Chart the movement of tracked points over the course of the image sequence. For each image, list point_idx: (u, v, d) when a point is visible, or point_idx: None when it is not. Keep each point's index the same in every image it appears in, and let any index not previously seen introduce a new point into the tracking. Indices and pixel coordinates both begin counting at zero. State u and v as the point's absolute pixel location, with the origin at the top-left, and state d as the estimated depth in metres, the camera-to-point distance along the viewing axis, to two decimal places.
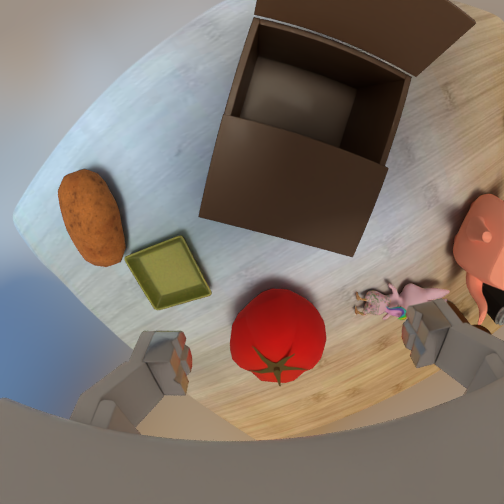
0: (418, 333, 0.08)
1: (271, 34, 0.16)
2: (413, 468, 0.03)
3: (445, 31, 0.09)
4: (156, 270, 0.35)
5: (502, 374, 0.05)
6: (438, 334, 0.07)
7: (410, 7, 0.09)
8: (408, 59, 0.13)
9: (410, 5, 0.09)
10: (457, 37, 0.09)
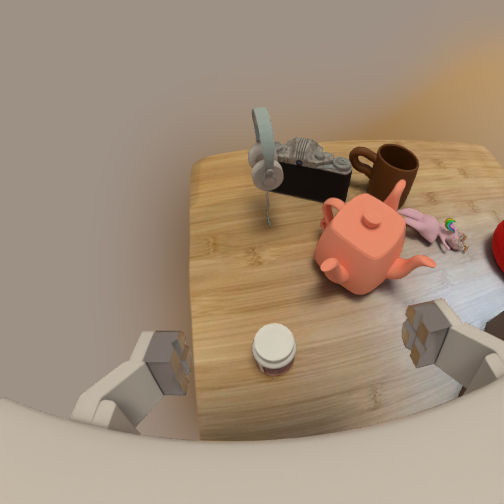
0: (418, 333, 0.08)
1: None
2: (413, 468, 0.03)
3: None
4: None
5: (502, 374, 0.05)
6: (438, 334, 0.07)
7: None
8: None
9: None
10: None
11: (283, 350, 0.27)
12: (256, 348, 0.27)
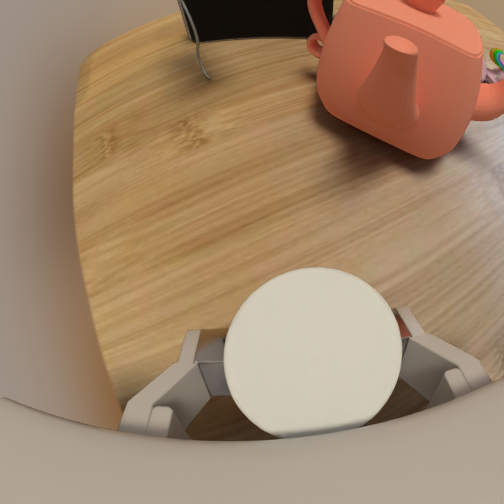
0: None
1: None
2: (413, 468, 0.03)
3: None
4: None
5: (462, 392, 0.05)
6: None
7: None
8: None
9: None
10: None
11: (368, 384, 0.05)
12: (245, 408, 0.05)
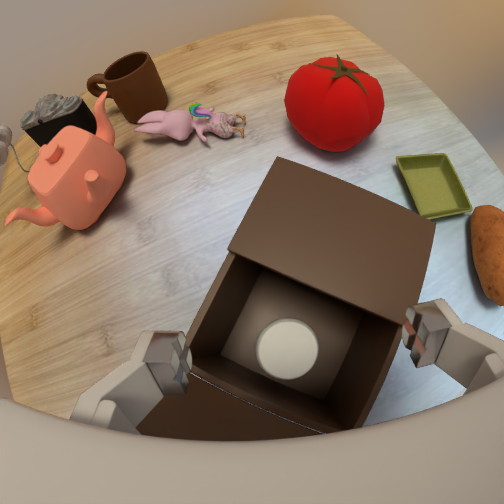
0: (418, 333, 0.08)
1: (331, 421, 0.15)
2: (413, 468, 0.03)
3: None
4: (443, 191, 0.29)
5: (502, 374, 0.05)
6: (438, 334, 0.07)
7: None
8: None
9: None
10: None
11: (305, 360, 0.18)
12: (265, 366, 0.18)
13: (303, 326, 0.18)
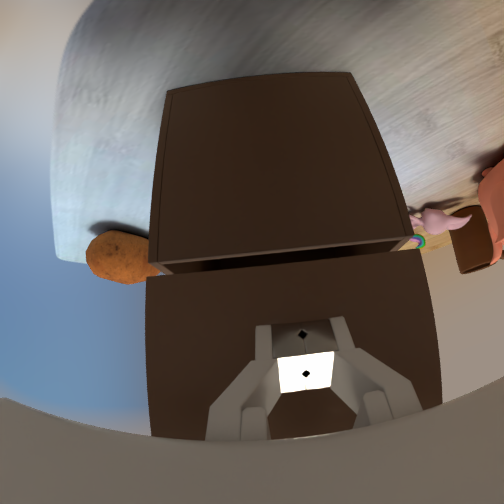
0: None
1: None
2: (413, 468, 0.03)
3: None
4: None
5: (380, 419, 0.05)
6: (321, 358, 0.08)
7: None
8: None
9: None
10: None
11: None
12: None
13: None
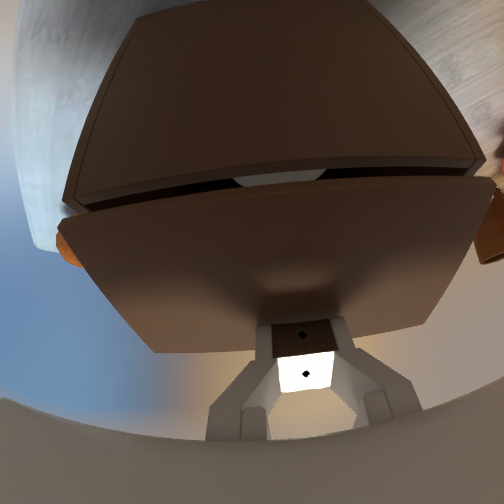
0: None
1: None
2: (413, 468, 0.03)
3: None
4: None
5: (380, 419, 0.05)
6: (321, 357, 0.08)
7: None
8: None
9: None
10: None
11: None
12: None
13: None
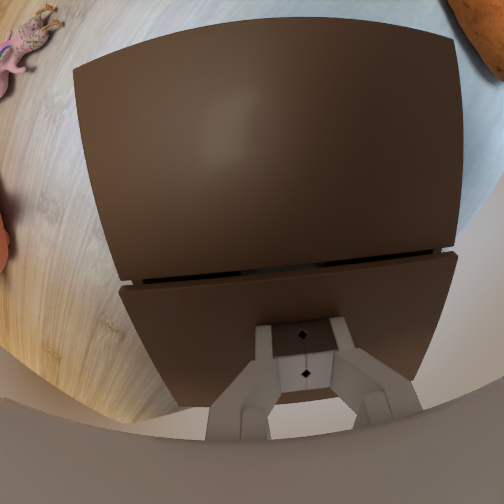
0: None
1: None
2: (413, 468, 0.03)
3: None
4: None
5: (380, 419, 0.05)
6: (321, 358, 0.08)
7: None
8: None
9: None
10: None
11: None
12: None
13: None
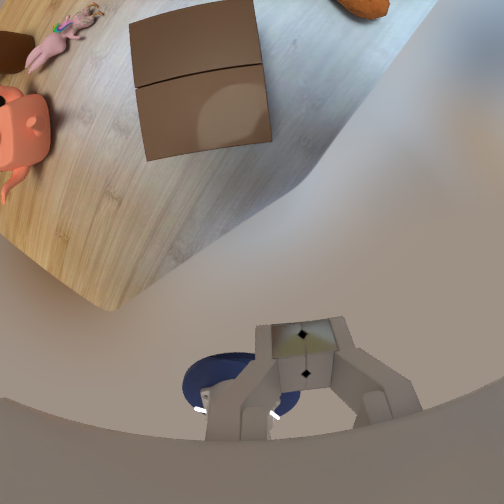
0: None
1: None
2: (413, 468, 0.03)
3: None
4: None
5: (380, 419, 0.05)
6: (321, 357, 0.08)
7: None
8: None
9: None
10: None
11: None
12: None
13: None
